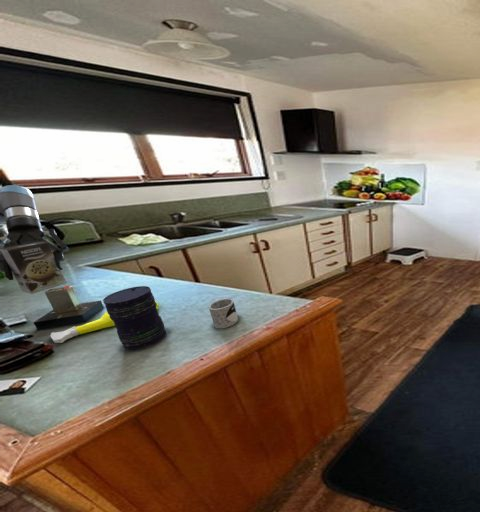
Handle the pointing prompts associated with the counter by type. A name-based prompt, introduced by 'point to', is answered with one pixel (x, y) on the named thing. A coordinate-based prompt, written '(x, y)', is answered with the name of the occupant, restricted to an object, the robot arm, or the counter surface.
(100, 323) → the yellow flared piece
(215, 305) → the mug
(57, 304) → the small grey box
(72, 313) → the dispenser panel
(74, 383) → the counter surface
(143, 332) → the storage jar
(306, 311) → the counter surface
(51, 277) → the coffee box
